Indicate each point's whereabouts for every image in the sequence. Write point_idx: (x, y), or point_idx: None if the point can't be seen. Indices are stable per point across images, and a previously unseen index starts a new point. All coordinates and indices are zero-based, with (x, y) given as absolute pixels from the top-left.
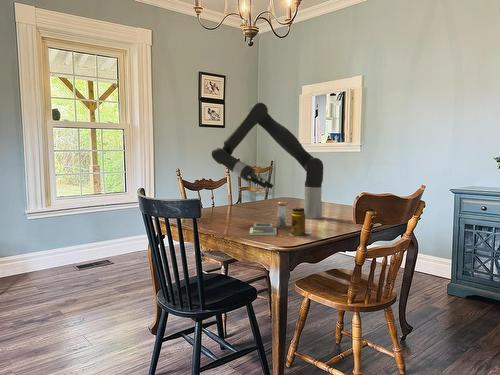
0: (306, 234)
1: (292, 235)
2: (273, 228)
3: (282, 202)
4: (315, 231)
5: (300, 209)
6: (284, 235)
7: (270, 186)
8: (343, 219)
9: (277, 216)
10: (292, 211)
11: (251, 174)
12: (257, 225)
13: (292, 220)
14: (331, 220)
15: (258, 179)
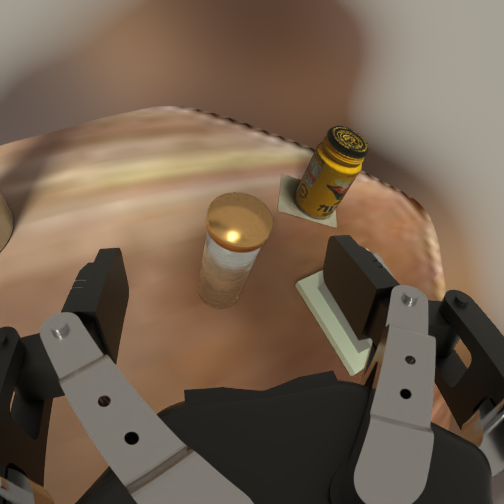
0: (296, 184)
1: (331, 214)
2: (315, 284)
3: (244, 213)
4: (237, 171)
5: (358, 134)
6: (346, 233)
7: (121, 286)
8: (15, 150)
9: (241, 283)
10: (358, 161)
11: (482, 498)
12: None
13: (352, 182)
14: (32, 169)
15: (426, 315)
